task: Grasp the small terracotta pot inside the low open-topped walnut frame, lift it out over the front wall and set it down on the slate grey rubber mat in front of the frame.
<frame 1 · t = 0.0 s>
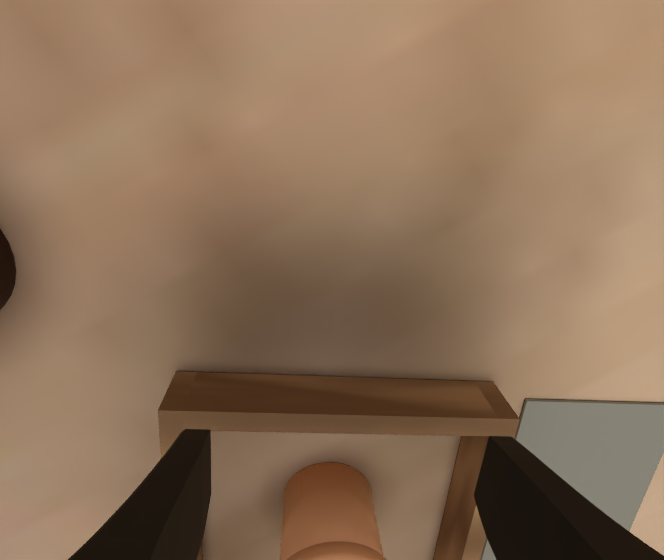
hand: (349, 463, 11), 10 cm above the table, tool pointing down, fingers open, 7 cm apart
terracotta pot: (330, 545, 22), in the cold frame
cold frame: (327, 497, 25), on the table
rubber mat: (569, 499, 27), on the table
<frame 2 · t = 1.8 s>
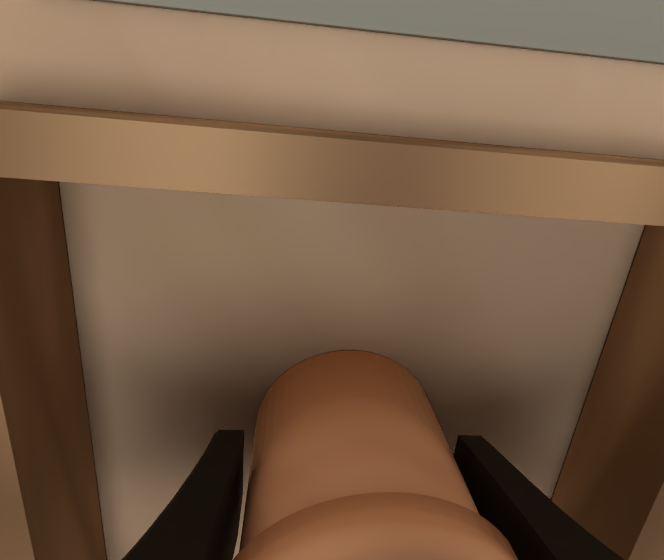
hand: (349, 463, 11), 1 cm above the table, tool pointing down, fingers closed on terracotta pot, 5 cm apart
terracotta pot: (357, 515, 10), in the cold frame, touching gripper
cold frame: (344, 427, 13), on the table
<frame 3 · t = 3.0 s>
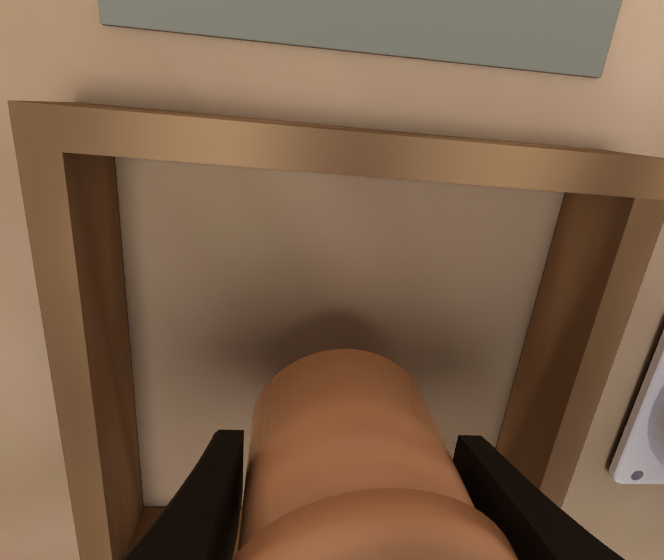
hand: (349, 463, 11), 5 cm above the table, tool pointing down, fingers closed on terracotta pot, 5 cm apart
terracotta pot: (354, 512, 10), point 6 cm above the table, touching gripper
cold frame: (332, 361, 16), on the table
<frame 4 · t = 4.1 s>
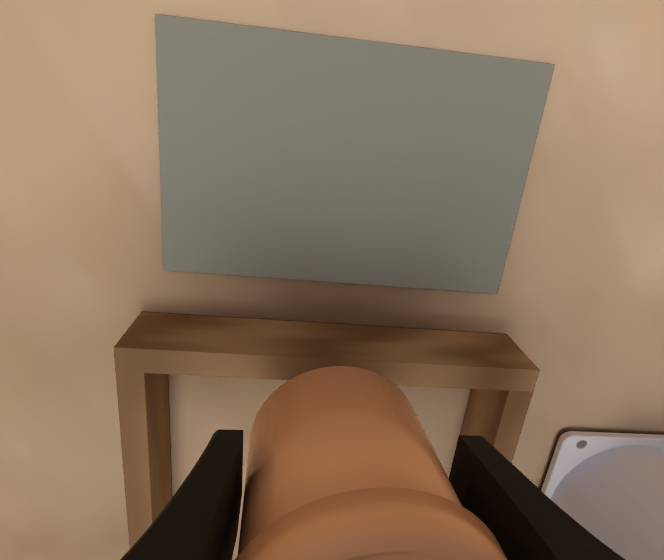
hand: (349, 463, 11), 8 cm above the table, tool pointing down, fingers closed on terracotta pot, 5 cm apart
terracotta pot: (350, 524, 10), point 10 cm above the table, touching gripper
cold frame: (315, 467, 22), on the table
rubber mat: (348, 171, 17), on the table
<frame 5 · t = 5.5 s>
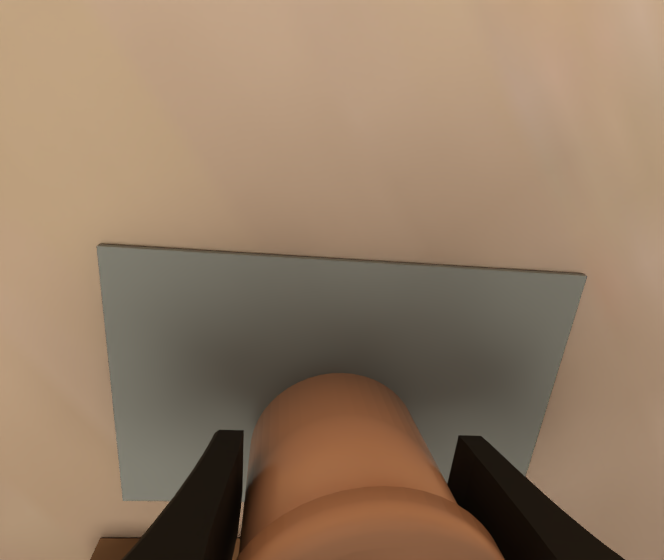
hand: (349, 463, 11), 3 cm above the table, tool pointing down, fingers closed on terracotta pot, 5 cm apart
terracotta pot: (349, 528, 10), point 4 cm above the table, tilted 7°, touching gripper
rubber mat: (339, 391, 14), on the table
when the fingers open (3 cm above the table, at t = 6.5 s): terracotta pot drops 1 cm, resting on rubber mat.
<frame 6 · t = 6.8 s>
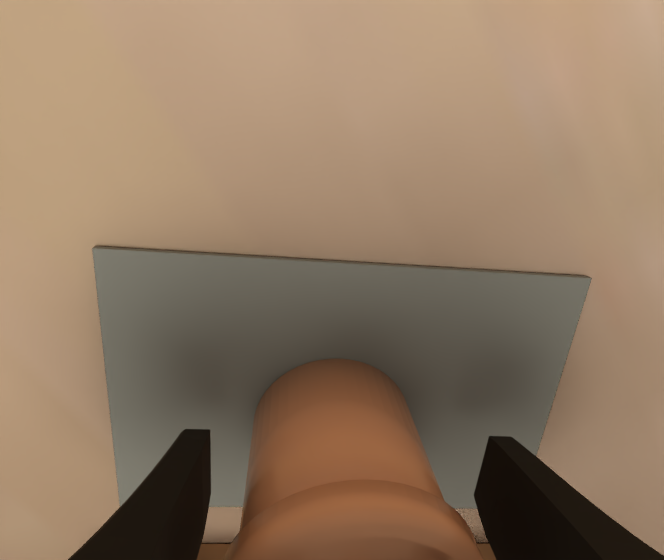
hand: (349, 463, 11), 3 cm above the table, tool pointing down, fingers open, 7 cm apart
terracotta pot: (341, 503, 11), resting on rubber mat
rubber mat: (339, 395, 14), on the table
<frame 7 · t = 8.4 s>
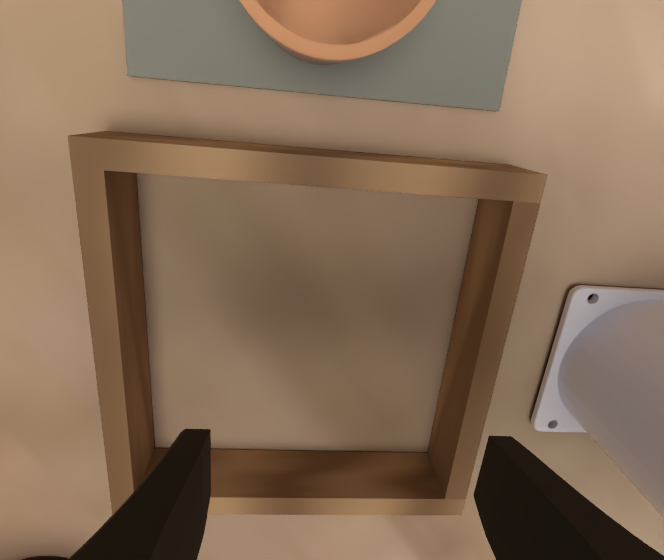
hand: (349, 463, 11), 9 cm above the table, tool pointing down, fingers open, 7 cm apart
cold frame: (303, 329, 20), on the table
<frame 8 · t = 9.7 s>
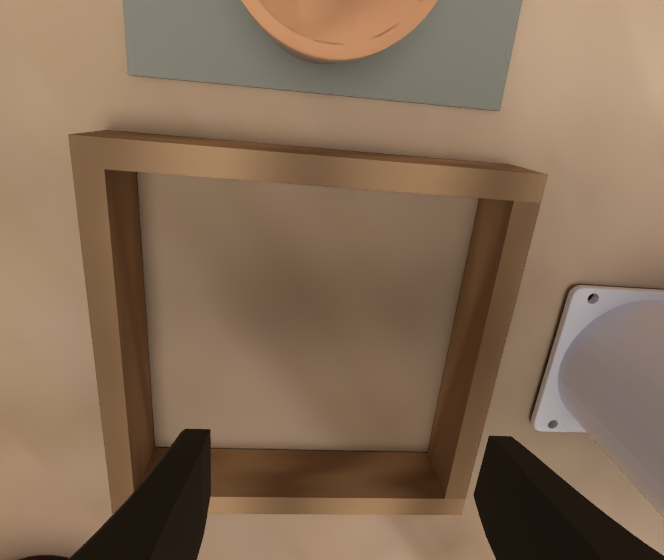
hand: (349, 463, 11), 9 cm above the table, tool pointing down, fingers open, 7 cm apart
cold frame: (303, 328, 20), on the table
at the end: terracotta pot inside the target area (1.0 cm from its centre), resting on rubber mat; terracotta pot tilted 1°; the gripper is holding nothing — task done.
